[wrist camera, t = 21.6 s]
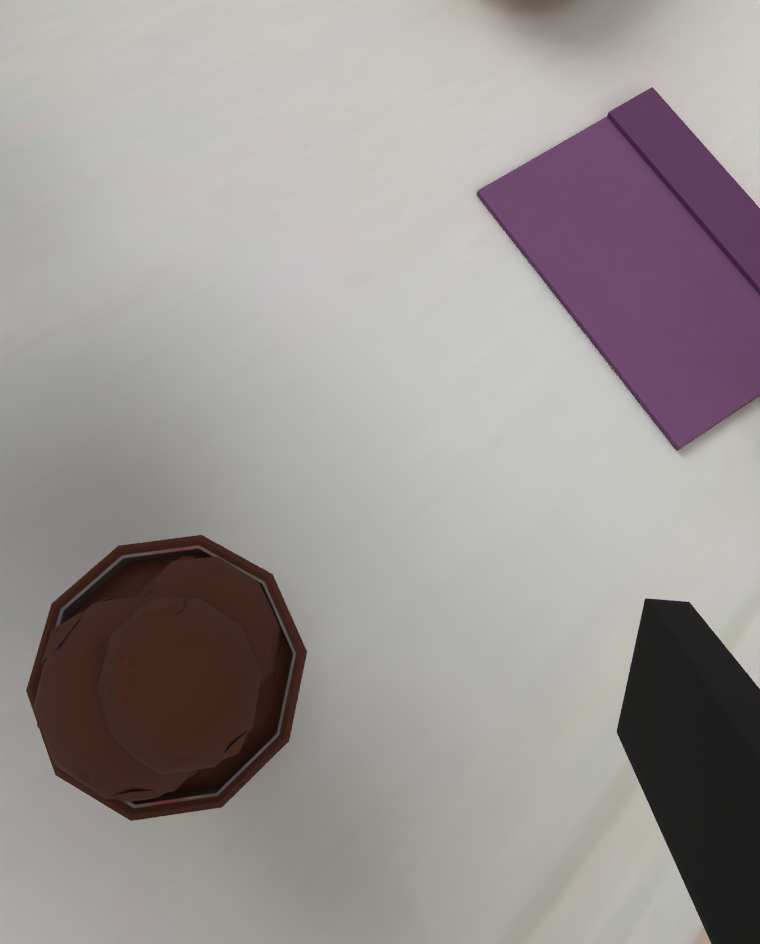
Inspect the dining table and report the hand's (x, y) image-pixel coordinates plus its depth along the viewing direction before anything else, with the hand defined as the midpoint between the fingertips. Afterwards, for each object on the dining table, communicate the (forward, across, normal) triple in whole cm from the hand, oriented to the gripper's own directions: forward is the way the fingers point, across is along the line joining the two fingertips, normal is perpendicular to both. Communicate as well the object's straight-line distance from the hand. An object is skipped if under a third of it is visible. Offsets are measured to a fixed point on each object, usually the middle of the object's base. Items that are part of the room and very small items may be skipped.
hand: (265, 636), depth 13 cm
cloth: (+35, +18, +7) cm, 40 cm away
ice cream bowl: (+22, -6, -15) cm, 27 cm away
